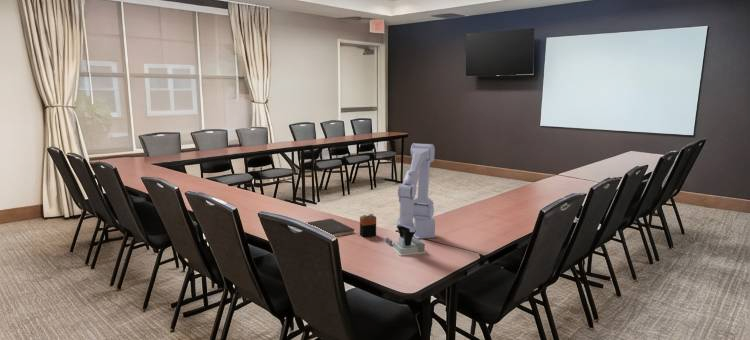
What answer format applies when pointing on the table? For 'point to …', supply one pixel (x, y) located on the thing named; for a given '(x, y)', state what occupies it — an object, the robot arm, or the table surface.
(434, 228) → the robot arm
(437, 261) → the table surface
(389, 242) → the holster
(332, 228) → the hardcover book
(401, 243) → the plug
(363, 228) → the battery
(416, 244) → the port
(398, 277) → the table surface
